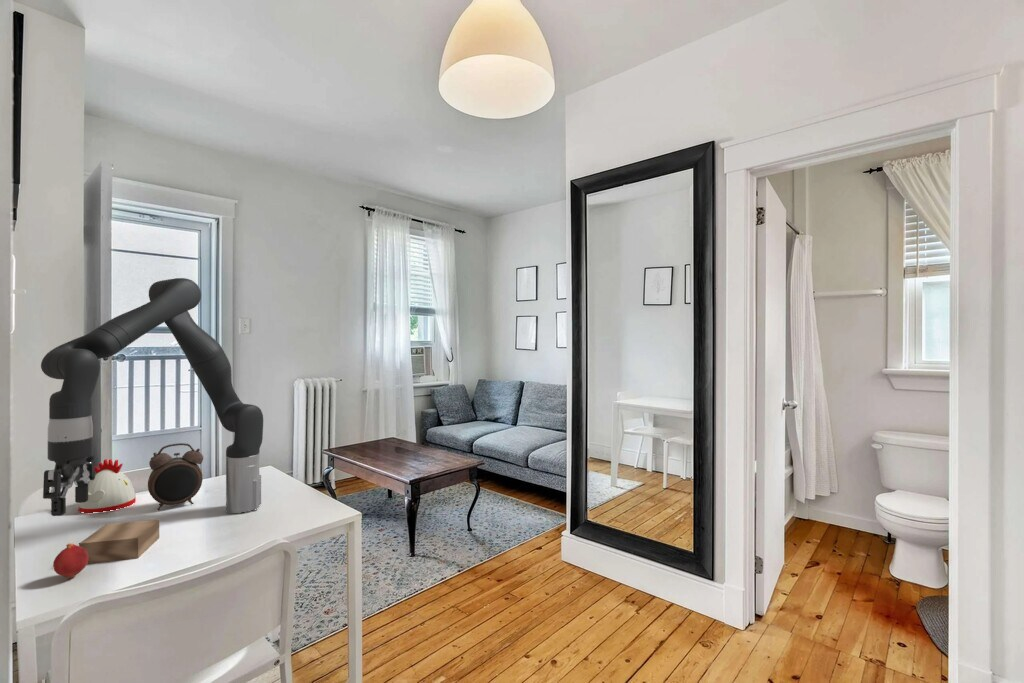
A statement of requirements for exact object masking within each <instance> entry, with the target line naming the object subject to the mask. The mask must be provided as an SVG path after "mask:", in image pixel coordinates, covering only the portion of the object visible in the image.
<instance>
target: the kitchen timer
mask: <svg viewBox="0 0 1024 683" xmlns="http://www.w3.org/2000/svg"><path fill="white" fill-rule="evenodd" d="M122 467H123V462H122V463H120V464H119V459H116V460H114V462H113V459H112V458H111V459H107V458H106V459H103V463H102V462H99V463H98V466H97V465H96V466H95V479H94V480H91V483H90V485H88V501H86V502H83V503H78V512H79V511H80V512H84V513H93V512H103V511H110V510H116V509H119V510H121V509H120V508H123V509H125V508H124V507H126V508H128V507H127V506H129V507H131V506H132V504H133V503H134V504H135V503H136V500H137V498H136V491H135V489H134V486H133V484H132V480H131V479H130V478H129V477H128V476H127V475H126V474H125V473H123V472H122V471H121V470H122ZM134 504H133V505H134ZM130 505H131V506H130ZM116 511H117V510H116ZM80 512H79V513H80Z"/></svg>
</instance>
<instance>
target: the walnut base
mask: <svg viewBox="0 0 1024 683" xmlns="http://www.w3.org/2000/svg"><path fill="white" fill-rule="evenodd" d="M159 539H160V519H153V520H152V519H150V520H140V521H139V520H138V521H128V522H116V523H106V524H104V525H103V526H101V527H100V528H99V529H98V530H97V529H96V531H94V532H93V533H92V534H91V535H89V536H88V537H86V538H85V539H84V540H82V541H81V542H79V543H78V546H80V547H82V548H84V549H85V550H86V551H87V553H88V558H89V559H88V563H87V564H93V563H95V564H96V563H103V562H106V563H107V562H111V561H112V562H113V561H122V560H132V559H139V558H140V557H141V556H142V555H143V554H144V553H146V552H147V551H148V550H149V549H150V548H151V547H152V545H154V544H155V543H156V542H157V541H158V540H159Z"/></svg>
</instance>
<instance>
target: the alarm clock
mask: <svg viewBox="0 0 1024 683" xmlns="http://www.w3.org/2000/svg"><path fill="white" fill-rule="evenodd" d="M176 446H177V447H178V446H184V447H185V446H186V447H188V448H189V449H190V450H188V451H186V452H185V453H184V454H183V455H182V457H180V455H181V454H180V452H175V453H173V456H174V457H172V456H171V455H170V454H168V453H166V452H163V450H164V449H167V448H170V447H176ZM152 455H153V456H152V457H150V460H149V463H148V464H149V468H150V469H151V470H152V471H151V472H150V475H149V476H148V480H147V489H148V492H149V495H150V496H151V497H152V498H153V500H155V502H157V503H159V504H158V505H159V506H158V508H157V511H160V510H161V508H162V507H163V506H164V505H165V506H177V505H181V504H183V503H186V502H189V503H190V505H191V504H193V505H194V503H195V502H193V501H192V498H194V497H195V496H196V495H197V493H198V492H199V491H200V489H201V488H202V485H203V472H202V469H201V467H200V466H199V465H201V464H202V463H203V461H204V456H203V454H202V452H200V448H197V449H196V450H195V449H194V448H193V446H192V445H191V444H189V443H185V442H184V443H183V442H181V443H180V442H179V443H172V444H167V445H164V446H162V447H161V448H160V449H159V450H158V452H153V454H152ZM178 456H179V457H178Z"/></svg>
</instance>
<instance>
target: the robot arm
mask: <svg viewBox="0 0 1024 683" xmlns="http://www.w3.org/2000/svg"><path fill="white" fill-rule="evenodd" d="M148 298H149V301H148V302H147V303H144V304H143V305H140V306H137V307H136V308H134V309H131V310H129V311H126V312H124V313H122V314H120V315H118V316H115V317H113V318H111V319H109V320H107V321H106V322H104V323H103V324H101V325H100V326H98V327H96V328H94V329H92V330H91V331H90V332H88V333H86V334H85V335H82V336H79V337H76V338H74V339H71V340H70V341H67V342H64V343H62V344H60V345H58V346H56V347H54V348H53V349H51V350H49V351H48V352H47V353H46V354H45V355H44V356H43V358H42V360H41V363H40V368H41V371H42V372H43V374H44V375H45V376H46V377H49V378H51V379H55V380H63V381H62V386H61V388H60V390H58V391H56V392H54V393H52V394H51V395H50V397H49V404H48V406H49V410H48V412H49V416H48V418H49V419H48V426H47V460H48V461H50V462H54V463H55V465H54V468H53V469H46V470H45V471H44V473H43V485H42V486H43V489H42V498H43V500H45V499H46V500H51V501H50V504H51V508H50V513H51V516H52V517H59V516H60V517H61V516H63V515H65V514H66V513H67V511H66V510H67V506H66V504H67V503H66V501H67V499H66V496H67V493H68V490H69V489H71V488H72V487H73V484H74V485H75V488H74V494H75V495H74V497H75V498H74V499H75V500H74V501H75V503H76V504H79V503H83V502H86V501H88V485H90V483H91V480H94V479H95V475H96V472H95V465H96V464H95V456H94V455H93V454H94V424H93V423H94V422H93V418H92V408H93V407H92V404H93V403H92V397H93V394H94V392H95V389H96V387H97V386H96V385H97V382H98V378H99V375H100V372H101V363H100V359H101V360H102V359H105V358H106V359H107V358H111V357H112V356H115V355H116V354H118V353H119V352H121V351H122V350H124V349H125V348H127V347H129V346H130V345H131V344H133V343H134V342H135V341H137V340H138V339H139V338H141V337H142V336H145V335H146V334H147V333H149V332H150V331H151V330H154V329H155V328H157V327H159V326H160V325H162V324H165V325H166V327H167V328H168V329H169V331H170V332H171V333H172V335H173V337H174V338H175V340H176V342H177V344H178V346H179V347H180V348H181V351H182V352H183V354H184V355H185V357H186V359H187V361H188V363H189V365H190V367H191V368H192V370H193V372H194V374H195V375H196V377H197V378H198V380H199V381H200V383H201V385H202V387H203V388H204V390H205V392H206V394H207V395H208V397H209V399H210V401H211V403H212V405H213V408H214V410H215V412H216V414H217V417H218V420H219V421H220V424H221V425H222V427H223V428H224V429H225V430H226V431H228V432H231V433H234V436H233V437H234V439H233V443H232V444H230V445H228V446H227V447H226V449H225V511H227V512H226V513H228V512H229V513H228V514H232V513H238V514H242V513H241V512H245V513H247V512H246V511H250V512H252V511H251V510H254V511H256V510H255V509H257V508H258V507H260V506H261V505H262V475H261V474H260V448H261V447H262V444H263V434H264V433H263V432H264V414H263V411H262V409H261V408H260V407H259V406H257V405H255V404H250V403H249V404H248V403H243V401H242V400H240V398H239V396H238V394H237V392H236V391H235V388H234V386H233V382H232V380H233V379H232V367H231V366H232V365H231V362H230V360H229V358H228V357H227V354H226V352H225V351H224V348H223V347H222V346H221V345H220V343H219V342H218V341H217V340H216V339H215V338H214V337H212V335H210V334H209V333H207V332H206V331H205V330H204V329H202V328H201V327H200V326H199V325H198V324H197V323H196V322H195V321H194V319H193V317H192V316H191V314H190V312H189V311H190V310H193V309H194V308H196V307H197V306H198V305H199V303H200V302H201V300H202V290H201V288H200V287H199V285H198V284H197V283H196V282H195V281H194V280H192V279H189V278H186V277H177V278H169V279H163V280H159V281H156V282H153V283H152V284H151V286H149V288H148ZM50 488H51V489H50ZM260 504H261V505H260ZM259 505H260V506H259ZM258 509H259V508H258ZM258 509H257V510H258Z"/></svg>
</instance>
